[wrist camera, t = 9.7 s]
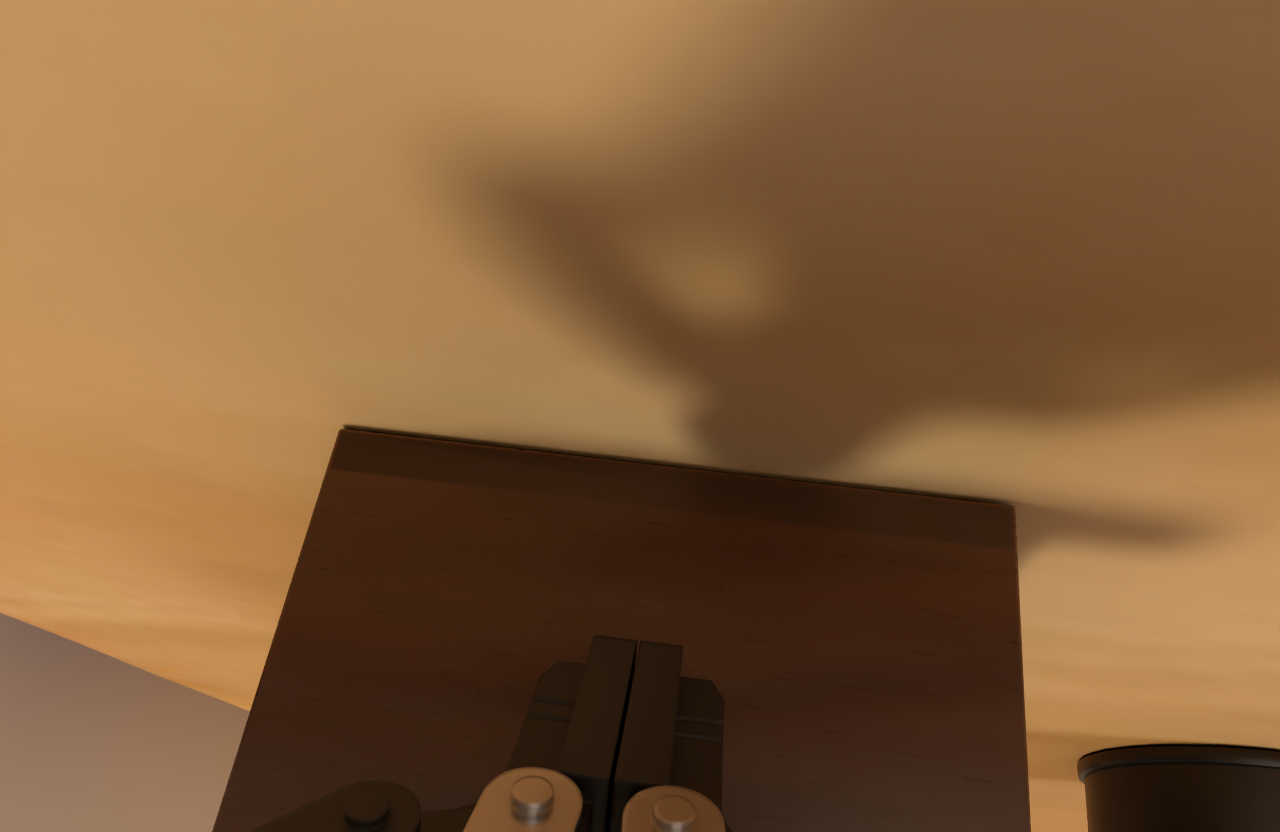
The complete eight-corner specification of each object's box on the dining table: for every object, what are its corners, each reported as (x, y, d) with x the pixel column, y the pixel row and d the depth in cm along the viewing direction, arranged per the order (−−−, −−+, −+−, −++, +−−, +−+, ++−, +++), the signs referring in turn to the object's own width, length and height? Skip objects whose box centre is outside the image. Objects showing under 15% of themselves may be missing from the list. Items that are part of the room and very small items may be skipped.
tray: (333, 419, 19) (145, 1007, 14) (1022, 498, 18) (1056, 1161, 13) (487, 657, 35) (422, 965, 31) (847, 706, 34) (837, 1031, 29)
